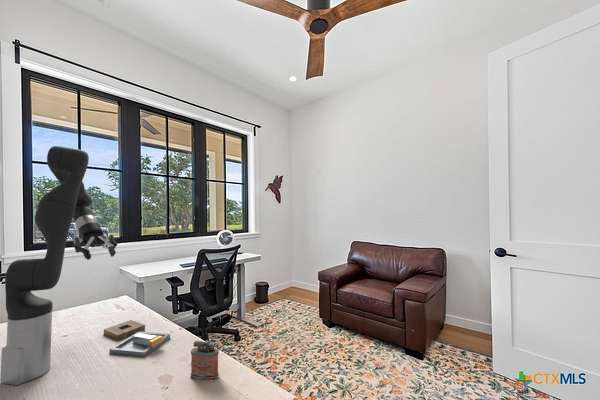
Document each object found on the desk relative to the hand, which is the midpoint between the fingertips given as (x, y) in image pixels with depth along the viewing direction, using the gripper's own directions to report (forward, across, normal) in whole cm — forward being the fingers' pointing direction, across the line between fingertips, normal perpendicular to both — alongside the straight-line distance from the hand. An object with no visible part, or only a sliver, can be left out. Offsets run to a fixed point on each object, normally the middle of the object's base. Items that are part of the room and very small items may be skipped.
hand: (101, 256), depth 108 cm
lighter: (+64, -1, -23) cm, 68 cm away
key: (+37, 0, +1) cm, 37 cm away
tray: (+40, 0, 0) cm, 40 cm away
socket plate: (+29, +3, +11) cm, 31 cm away
